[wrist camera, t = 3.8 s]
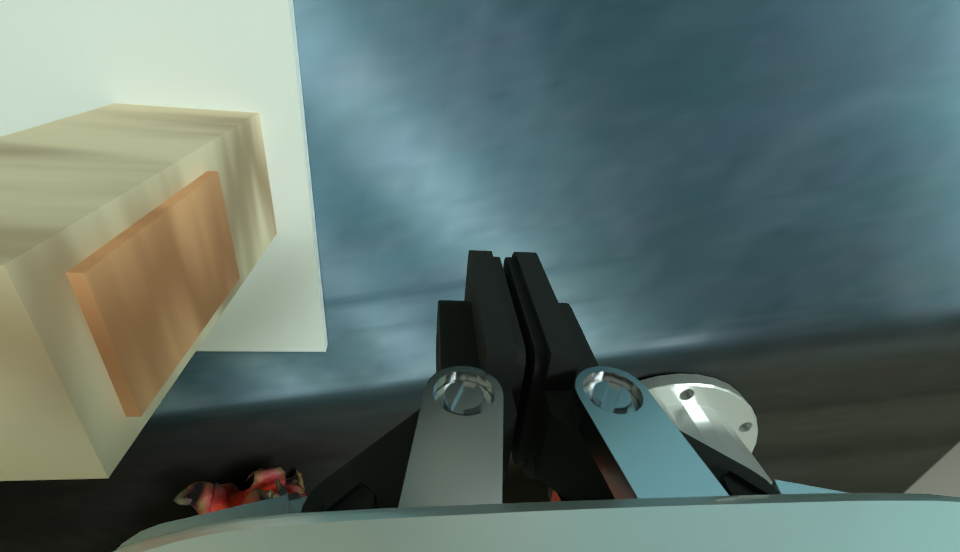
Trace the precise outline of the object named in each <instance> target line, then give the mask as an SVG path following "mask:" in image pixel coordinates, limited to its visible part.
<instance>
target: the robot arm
mask: <svg viewBox="0 0 960 552" xmlns="http://www.w3.org/2000/svg"><path fill="white" fill-rule="evenodd" d="M757 434H758V426H757V418H756V416H755V414H754V412H753V410H752V408H751V406H750V405H749V404H748V403H747V402H746V400H745V399H744V398H743V397H742V395H741V394H740V393H739V392H738V391H737V390H735V389H734V388H733V387H731V386H730V385H729V384H727V383H725V382H722V381H720V380H718V379H716V378H712V377H708V376H703V375H698V374H670V375H661V376H655V377H651V378H647V379H644V380H640V381H639V380H638V379H636V378H635V377H633V376H632V375H630V374H629V373H626V372H624V371H622V370H619V369H616V368H611V367H606V366H599V365H598V363H597V361H596V359H595V357H594V355H593V353H592V351H591V349H590V346H589V344H588V342H587V340H586V338H585V336H584V334H583V332H582V330H581V327H580V325H579V323H578V321H577V319H576V317H575V315H574V313H573V310H572V308H571V307H570V305H569V304H567V303H558V301H557V299H556V296H555V294H554V292H553V290H552V287H551V285H550V283H549V280H548V278H547V276H546V274H545V271H544V269H543V267H542V264H541V262H540V260H539V258H538V255H537V254H536V253H530V252H514V253H513V255H512V257H506V258H505V260H504V267H502V263H501V260H500V257H493V255H492V251H474V250H469V254H468V265H467V276H466V288H465V300H464V301H449V300H439V301H438V313H437V335H436V373H435V374H434V375H433V376H432V377H431V378H430V379H429V380H428V383H427V385H426V387H425V390H424V395H423V399H422V404H421V408H420V409H419V410H418V411H417V412H415V413H414V414H413V415H411V416H410V417H409V418H407V419H406V420H405V421H403V422H402V423H400V424H399V425H398V426H396V427H395V428H394V429H392V430H391V431H390V432H388V433H387V434H386V435H384V436H383V437H382V438H380V439H379V440H378V441H376V442H375V443H373V444H372V445H371V446H369V447H368V448H367V449H365V450H364V451H363V452H361V453H360V454H359V455H357V456H356V457H355V458H353V459H352V460H351V461H349V462H348V463H346V464H345V465H344V466H342V467H341V468H340V469H338V470H337V471H336V472H334V473H333V474H332V475H330V476H329V477H328V478H326V479H325V480H324V481H322V482H321V483H320V484H319V485H318V486H317V487H316V488H315V489H314V490H313V491H312V492H311V493H310V494H309V496H308V497H303V498H299V499H295V500H291V501H289V497H288V494H287V495H283V496H279V497H274V498H270V499H266V500H261V501H257V502H253V503H248V504H244V505H240V506H235V507H231V508H227V509H223V510H218V511H214V512H210V513H205V514H201V515H197V516H192V517H188V518H184V519H179V520H175V521H171V522H167V523H162V524H159V525H156V526H153V527H151V528H148V529H145V530H143V531H140V532H139V533H137V534H136V535H134V536H133V537H131V538H130V539H128V540H127V541H125V542H124V543H122V544H121V545H120V546H119V547H118V548H117V550H116V551H113V552H960V498H959V497H950V496H941V495H931V494H902V493H846V492H841V491H835V490H829V489H824V488H818V487H813V486H807V485H802V484H796V483H790V482H785V481H779V480H774V482H772V481H771V480H770V478H769V477H768V476H767V474H766V473H765V471H764V470H763V469H762V467H761V466H760V465H759V463H758V462H757V460H756V459H755V458H754V456H753V455H752V451H753V449H754V447H755V444H756V440H757ZM511 451H512V457H513V461H514V463H515V464H522V467H523V472H524V477H525V480H528V479H539V480H540V481H542V482H543V483H544V484H546V485H547V486H548V497H549V502H527V503H502V482H503V481H504V480H505V479H506V475H507V469H508V463H509V458H510V452H511Z"/></svg>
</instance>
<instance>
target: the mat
mask: <svg viewBox="0 0 960 552" xmlns="http://www.w3.org/2000/svg"><path fill="white" fill-rule="evenodd" d="M114 103H120V104H135V105H150V106H165V107H180V108H195V109H210V110H225V111H240V112H255V113H259V115H260V122H261V129H262V135H263V142H264V149H265V156H266V162H267V169H268V176H269V183H270V189H271V196H272V203H273V210H274V216H275V223H276V230H277V234H276V236H275V237H274V239H273V240H272V241H271V243H270V244H269V246H268V247H267V249H266V250H265V252H264V253H263V255H262V256H261V257H260V259H259V260H258V262H257V263H256V265H255V266H254V268H253V269H252V271H251V272H250V273H249V275H248V276H247V278H246V279H245V281H244V282H243V284H242V285H241V286H240V288H239V289H238V291H237V292H236V294H235V295H234V297H233V298H232V300H231V301H230V302H229V304H228V305H227V307H226V308H225V310H224V311H223V313H222V314H221V316H220V317H219V318H218V320H217V321H216V323H215V324H214V326H213V327H212V329H211V330H210V331H209V333H208V334H207V336H206V337H205V339H204V340H203V342H202V343H201V345H200V346H199V347H198V349H197V350H196V351H270V352H326V348H327V345H328V342H327V332H326V322H325V312H324V303H323V293H322V283H321V273H320V263H319V253H318V243H317V234H316V224H315V214H314V204H313V194H312V184H311V175H310V165H309V155H308V145H307V135H306V125H305V115H304V106H303V96H302V86H301V76H300V66H299V56H298V46H297V37H296V27H295V17H294V7H293V0H0V137H1V136H5V135H8V134H12V133H15V132H18V131H22V130H25V129H29V128H32V127H35V126H39V125H42V124H46V123H49V122H52V121H56V120H59V119H63V118H66V117H69V116H73V115H76V114H80V113H83V112H86V111H90V110H93V109H97V108H100V107H103V106H107V105H110V104H114Z"/></svg>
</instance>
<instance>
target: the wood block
mask: <svg viewBox="0 0 960 552" xmlns="http://www.w3.org/2000/svg"><path fill="white" fill-rule="evenodd" d="M276 234H277V230H276V223H275V216H274V210H273V203H272V196H271V189H270V183H269V176H268V169H267V162H266V156H265V149H264V142H263V135H262V129H261V122H260V115H259V113H255V112H240V111H225V110H210V109H195V108H180V107H165V106H150V105H135V104H120V103H114V104H110V105H107V106H103V107H100V108H97V109H93V110H90V111H86V112H83V113H80V114H76V115H73V116H69V117H66V118H63V119H59V120H56V121H52V122H49V123H46V124H42V125H39V126H35V127H32V128H29V129H25V130H22V131H18V132H15V133H12V134H8V135H5V136H1V137H0V481H20V480H60V479H99V478H109V477H110V475H111V474H112V472H113V471H114V469H115V468H116V466H117V465H118V464H119V462H120V461H121V459H122V458H123V456H124V455H125V453H126V452H127V450H128V449H129V448H130V446H131V445H132V443H133V442H134V440H135V439H136V437H137V436H138V435H139V433H140V432H141V430H142V429H143V427H144V426H145V424H146V423H147V421H148V420H149V419H150V417H151V416H152V414H153V413H154V411H155V410H156V408H157V407H158V405H159V404H160V403H161V401H162V400H163V398H164V397H165V395H166V394H167V392H168V391H169V390H170V388H171V387H172V385H173V384H174V382H175V381H176V379H177V378H178V376H179V375H180V374H181V372H182V371H183V369H184V368H185V366H186V365H187V363H188V362H189V360H190V359H191V358H192V356H193V355H194V353H195V352H196V350H197V349H198V347H199V346H200V345H201V343H202V342H203V340H204V339H205V337H206V336H207V334H208V333H209V331H210V330H211V329H212V327H213V326H214V324H215V323H216V321H217V320H218V318H219V317H220V316H221V314H222V313H223V311H224V310H225V308H226V307H227V305H228V304H229V302H230V301H231V300H232V298H233V297H234V295H235V294H236V292H237V291H238V289H239V288H240V286H241V285H242V284H243V282H244V281H245V279H246V278H247V276H248V275H249V273H250V272H251V271H252V269H253V268H254V266H255V265H256V263H257V262H258V260H259V259H260V257H261V256H262V255H263V253H264V252H265V250H266V249H267V247H268V246H269V244H270V243H271V241H272V240H273V239H274V237H275V236H276Z"/></svg>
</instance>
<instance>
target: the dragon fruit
mask: <svg viewBox="0 0 960 552" xmlns="http://www.w3.org/2000/svg"><path fill="white" fill-rule="evenodd" d="M249 473H250V472H249ZM253 476H254V478H253ZM251 478H253V479H252V482H253V484H252V485H251V487H250V488H249V489H246V490H244V491H241V490H240V489H239V488H238V487H237V486H236V485H235V484H233V483H225V484H221V485H220V484H219V483H216V482H215V484H214V483H210V482H205V481H200V482H195V483H193V484H191V485H189V486H188V487H187V488H186V489H185V490H183V491H182V492H180V493H179V494H178V495H177V496H176V497H175V499H174V502H176V503H177V504H179V505H190V506H192V507H194V509H195V510H196V511H197V513H198V515H201V514H205V513H210V512H214V511H218V510H223V509H227V508H231V507H235V506H240V505H244V504H248V503H253V502H257V501H261V500H266V499H270V498H274V497H279V496H283V495H287V494H288V497H289V501H291V500H295V499H299V498H303V497H307V496H306V494H305V493H304V490H305V487H304V486H303V480H302V473H300V472H299V471H298V470H297V469H295V473H294V474H293V477H291V478H286V473H285V471H284V470H283V469H282V468H281V467H275V468H272V469H271V467H270V469H267V470H266V469H263V468H261V469H259V470H257V471H253V472H252V474H251V475H250V476H249V477H248V478H247V480H246V481H249V480H250V479H251ZM193 516H195V515H193Z"/></svg>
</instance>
